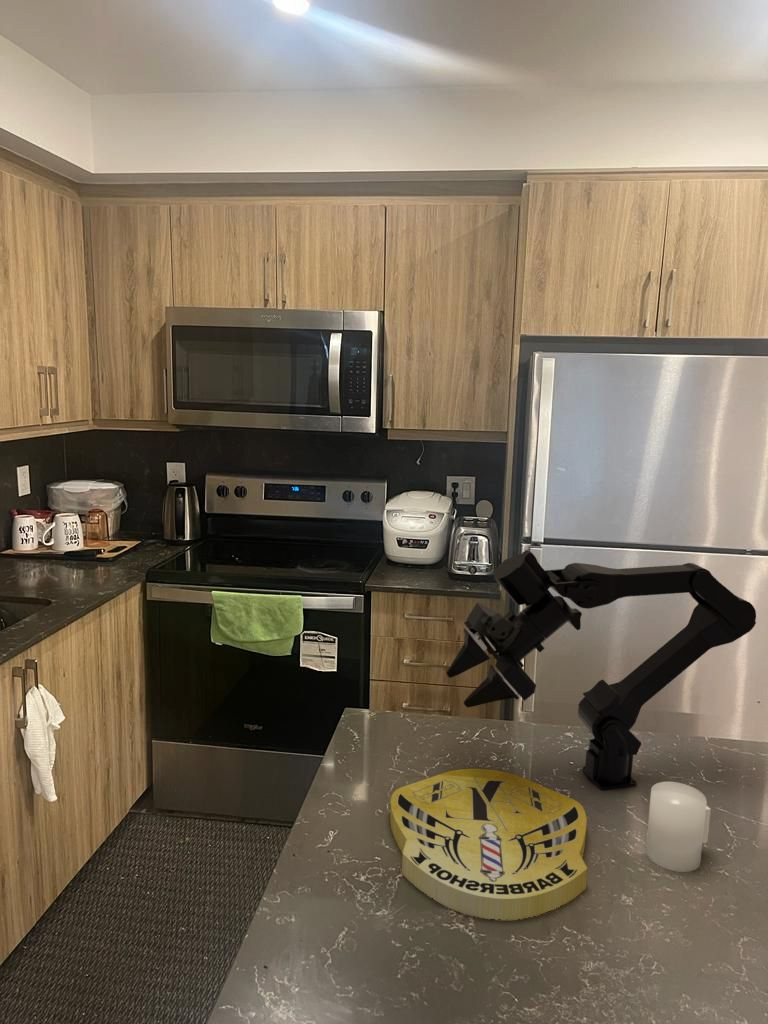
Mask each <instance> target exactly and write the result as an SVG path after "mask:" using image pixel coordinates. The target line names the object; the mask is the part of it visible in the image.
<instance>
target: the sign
mask: <svg viewBox="0 0 768 1024" xmlns="http://www.w3.org/2000/svg"><path fill="white" fill-rule="evenodd" d="M389 810H390V813H389V820H390V824H389V825H390V828H391V829H390V830H391V832H392V835H393V837H394V840H395V842H396V844H397V846H398V848H399V850H400V851H401V853H402V861H401V862H402V864H401V865H402V866H401V868H402V869H401V873H402V875H403V876H404V877H405V878H406V879H407V881H409V882H410V883H411V884H412V885H414V886H415V887H416V888H417V889H418V890H419V891H421V892H422V893H423V892H424V895H426V894H427V895H426V896H427V897H429V898H431V899H432V898H433V901H435V902H437V903H439V904H440V905H443V906H445V907H446V908H449V909H451V910H453V911H456V912H458V913H461V914H464V915H467V916H471V917H474V916H475V917H474V918H478V917H479V919H483V918H484V920H490V919H495V920H494V921H499V920H498V919H501V920H500V921H519V920H518V919H520V920H524V919H523V918H527V919H529V918H528V917H531V918H534V917H533V916H536V917H539V916H541V915H540V914H543V913H545V912H548V911H551V910H553V911H555V910H557V909H559V908H561V907H562V906H561V905H563V906H565V905H566V904H568V903H570V902H571V901H573V900H574V899H575V898H576V897H578V896H579V895H581V894H583V893H582V892H584V891H585V890H586V889H587V882H588V881H587V878H588V867H587V865H586V863H585V861H584V859H583V857H584V854H585V853H584V852H585V846H586V837H587V835H586V834H587V833H586V832H587V824H588V822H587V813H586V811H585V809H584V807H583V805H582V804H581V803H579V802H578V801H577V800H575V799H573V798H571V797H569V796H566V795H564V794H561V793H559V792H557V791H555V790H552V789H550V788H547V787H546V786H542V784H541V785H540V784H538V783H536V782H534V781H531V780H529V779H527V778H524V777H522V776H520V775H519V776H518V775H517V774H512V773H511V772H510V773H509V772H505V771H502V770H501V771H500V770H495V769H488V768H487V769H485V768H463V769H462V768H461V769H455V770H454V769H453V770H450V771H446V772H445V771H444V772H442V773H440V774H437V775H435V776H434V775H433V776H430V777H429V778H425V779H422V780H419V781H417V782H414V783H410V784H407V785H404V786H401V787H399V788H397V789H395V791H393V793H392V795H391V797H390V809H389ZM583 853H584V854H583ZM569 901H570V902H569ZM564 904H565V905H564ZM560 906H561V907H560ZM558 907H559V908H558ZM556 908H557V909H556ZM554 909H555V910H554ZM551 912H552V911H551ZM548 913H549V912H548ZM545 914H546V913H545ZM538 915H539V916H538ZM543 915H544V914H543ZM506 919H507V920H506Z"/></svg>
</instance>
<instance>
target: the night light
mask: <svg viewBox="0 0 768 1024" xmlns="http://www.w3.org/2000/svg"><path fill="white" fill-rule="evenodd" d="M707 801H708V800H707V797H706V795H704V794H703V793H702V792H701V791H700V790H698V789H697V788H695V787H694V786H690V785H689V784H685V783H682V782H677V781H676V782H675V781H662V782H657V783H655V784H653V785H652V787H651V789H650V799H649V809H648V810H649V811H648V822H647V832H646V845H645V853H646V855H647V857H648V856H649V857H648V858H649V860H650V861H652V862H653V863H654V862H655V863H654V864H656V865H657V866H659V867H661V868H663V869H665V870H668V871H672V872H677V873H690V872H692V871H696V870H697V869H698V868H699V867H700V865H701V860H702V852H703V851H702V850H703V844H705V843H708V837H709V830H710V821H711V812H712V809H711V808H710V807H709V806H708V803H707Z"/></svg>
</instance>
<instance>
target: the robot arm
mask: <svg viewBox="0 0 768 1024" xmlns="http://www.w3.org/2000/svg"><path fill="white" fill-rule="evenodd" d="M537 559H538V558H537V557H536V556H535V555H534V553H533V552H531V550H529V549H525V550H524V551H523V552H522V553H519V554H515V555H513V556H511V557H509V558H505V559H504V560H502V562H501V563H500V564H499V565H498V566H497V567H496V568H495V570H494V572H493V578H494V579H495V580H496V582H497V583H498V584H499V585H500V586H501V588H502V589H503V590H504V591H505V593H506V594H507V595H508V596H509V597H510V599H511V600H512V602H514V604H515V605H518V606H522V605H524V606H526V607H524V608H523V609H522V610H521V611H520V612H518V613H517V614H516V613H515V612H514V611H513V610H512V611H509V612H507V613H506V614H505V615H503V614H501V613H499V612H497V611H496V610H494V609H492V608H490V607H488V606H486V605H484V604H483V603H481V602H479V601H478V602H476V603H475V604H474V606H473V607H472V610H471V611H470V612H469V614H468V615H467V617H466V621H464V623H463V624H464V625H465V626H466V628H467V629H468V630H467V629H466V628H465V627H464V628H463V633H464V634H463V635H464V638H463V641H464V642H463V644H462V646H461V648H460V649H459V651H458V653H457V654H456V656H455V658H454V659H453V660H452V663H451V664H450V666H449V667H448V669H447V671H446V672H445V674H446V676H447V677H448V678H450V679H452V678H454V677H456V676H458V675H461V674H463V673H466V672H467V671H468V670H471V669H472V668H475V667H476V666H479V665H481V664H483V663H484V662H486V661H488V660H490V659H491V657H490V656H489V655H492V656H493V658H494V659H495V660H496V661H495V667H494V666H493V665H492V664H490V665H489V670H488V675H487V677H486V678H485V679H484V680H483V681H482V682H481V683H480V684H479V685H478V686H477V687H476V688H475V689H474V690H473V691H472V692H471V693H470V694H469V695H468V696H467V697H466V698H465V700H464V701H463V705H464V706H465V707H466V708H472V707H476V706H477V707H478V706H481V705H485V704H490V703H494V702H499V701H503V700H510V699H515V700H516V701H518V700H519V699H520V697H521V698H522V700H523V701H524V702H526V701H527V700H528V699H529V698H531V697H532V696H533V695H534V694H535V692H536V686H537V684H536V683H535V682H534V681H533V680H532V678H531V677H530V675H529V674H528V673H527V672H526V671H525V670H524V669H523V667H524V666H525V665H524V663H522V660H524V659H525V658H526V657H527V656H529V655H530V654H531V653H532V652H533V651H534V650H537V651H538V653H541V652H542V651H544V650H545V647H544V646H543V643H544V642H545V641H546V640H548V639H549V638H551V637H552V636H553V634H555V633H556V632H557V631H558V630H560V629H561V628H562V627H563V626H564V625H566V624H567V623H568V624H570V626H571V627H573V628H574V629H575V630H576V631H579V630H581V625H582V624H581V622H582V621H581V618H582V615H583V613H582V612H581V611H580V610H579V609H578V608H572V607H571V605H569V604H568V603H567V601H566V600H565V599H564V598H566V599H568V600H570V601H571V602H572V603H574V604H575V605H576V606H577V607H579V608H581V609H588V610H590V609H594V608H598V607H602V606H605V605H610V604H612V603H614V602H615V601H617V600H618V599H619V600H620V599H622V598H628V597H630V598H631V597H640V596H641V597H643V596H645V597H646V596H657V595H671V594H672V595H673V594H684V593H687V594H689V595H690V597H691V598H692V599H693V600H694V601H695V602H696V603H697V605H695V607H694V609H693V610H692V613H691V615H690V618H689V621H688V623H687V624H686V626H685V627H684V628H682V629H681V630H680V631H679V632H678V633H676V634H675V635H674V636H673V637H672V638H670V639H669V640H668V641H667V642H665V644H664V645H662V646H661V647H659V648H658V649H657V650H656V651H654V653H653V654H651V655H650V656H649V657H648V658H647V659H646V660H644V661H643V662H642V663H641V664H639V665H638V666H637V667H636V668H635V669H633V671H631V672H630V673H629V674H628V675H627V676H625V677H624V678H623V679H622V680H620V681H618V682H615V683H610V684H608V683H607V681H605V680H604V679H601V680H598V682H597V683H596V684H595V685H593V687H592V688H591V689H589V690H588V691H586V692H583V693H582V695H583V696H584V697H583V698H582V699H581V700H580V701H579V703H578V705H577V706H578V709H577V715H578V718H579V720H580V722H581V723H582V724H583V725H584V726H585V728H586V729H587V732H589V734H591V735H592V736H593V737H594V738H592V739H589V744H588V745H589V746H588V749H587V750H586V753H585V754H586V755H585V764H584V765H585V766H582V768H581V769H582V772H584V774H585V775H586V776H587V777H588V778H589V779H590V780H591V781H592V782H593V783H594V784H595V785H596V786H597V787H598V788H599V789H601V790H603V791H604V790H610V789H611V790H612V789H618V788H620V789H621V788H627V787H635V786H637V785H638V783H637V782H638V781H636V779H634V778H633V777H632V774H633V761H634V756H637V755H638V752H639V751H640V748H641V746H642V742H641V741H640V740H639V738H637V737H636V736H635V734H633V732H632V731H630V730H631V729H632V728H633V727H634V725H636V722H637V719H638V717H639V714H640V712H641V709H642V707H643V706H645V704H646V703H647V702H649V701H650V700H651V699H652V698H653V697H655V696H656V695H657V694H658V693H659V692H661V690H663V689H664V688H665V687H667V686H668V685H669V684H671V682H673V680H675V679H676V678H677V677H679V676H680V675H681V674H682V673H683V672H684V671H686V670H687V669H688V668H689V667H690V666H691V665H693V664H695V663H696V661H698V659H700V658H701V657H702V656H703V655H705V654H706V653H707V652H709V650H711V649H713V648H716V647H720V646H724V645H726V644H727V645H728V644H732V643H733V642H735V641H737V640H738V639H741V638H742V637H743V636H745V635H746V634H748V633H750V632H751V631H752V630H753V629H754V628H755V626H756V624H757V622H756V619H757V611H756V609H755V606H754V605H753V604H752V603H751V602H749V601H748V600H746V599H743V598H741V597H740V596H737V595H735V594H734V593H733V592H732V591H731V590H730V589H728V588H727V587H726V586H725V585H723V584H722V583H721V581H719V580H718V579H717V578H716V577H715V576H714V575H713V574H712V573H711V572H710V571H709V570H708V569H706V568H705V567H703V566H700V565H698V564H696V563H694V562H688V563H683V564H675V565H673V564H672V565H659V566H644V567H643V566H642V567H627V568H612V567H606V566H602V565H597V564H590V563H583V562H582V563H581V562H573V563H569V564H567V565H565V567H564V568H559V569H558V568H557V569H547V570H545V569H544V568H543V567H542V566H541V564H540V563H539V562H538V560H537ZM549 589H552V590H554V591H555V592H556V593H557V594H558V595H555V596H554V595H553V594H552V593H551V591H549ZM486 651H487V652H488V653H489V654H487V652H486ZM497 670H498V671H497Z"/></svg>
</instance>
